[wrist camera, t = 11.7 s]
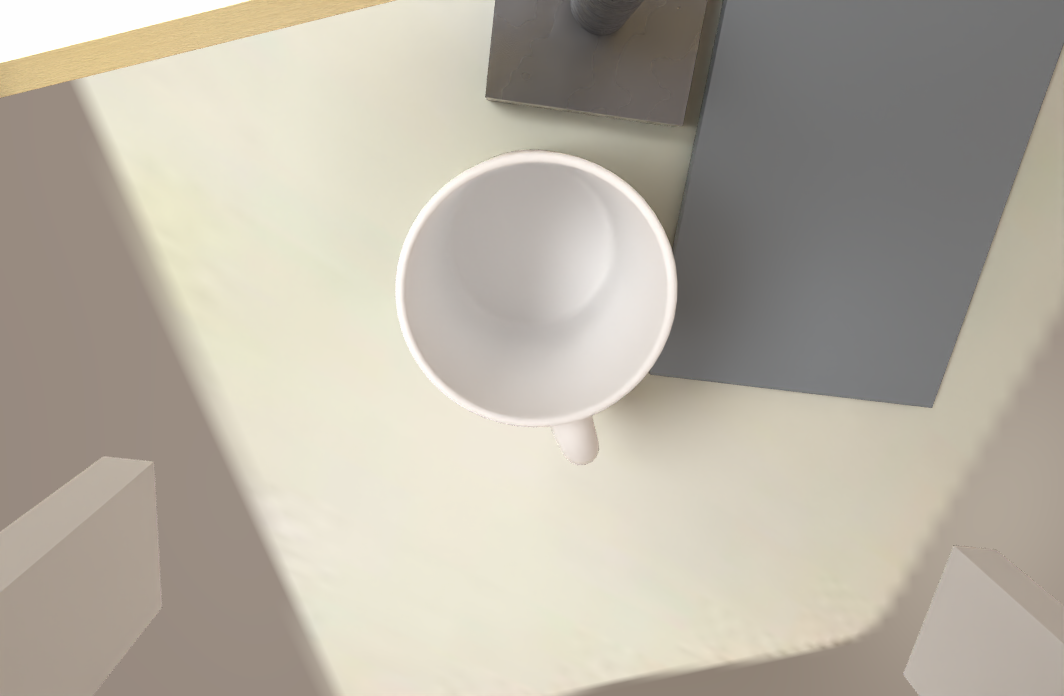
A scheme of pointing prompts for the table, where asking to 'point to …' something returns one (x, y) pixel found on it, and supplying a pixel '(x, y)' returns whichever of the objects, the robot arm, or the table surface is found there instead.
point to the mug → (537, 292)
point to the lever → (132, 32)
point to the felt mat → (851, 188)
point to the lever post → (597, 56)
